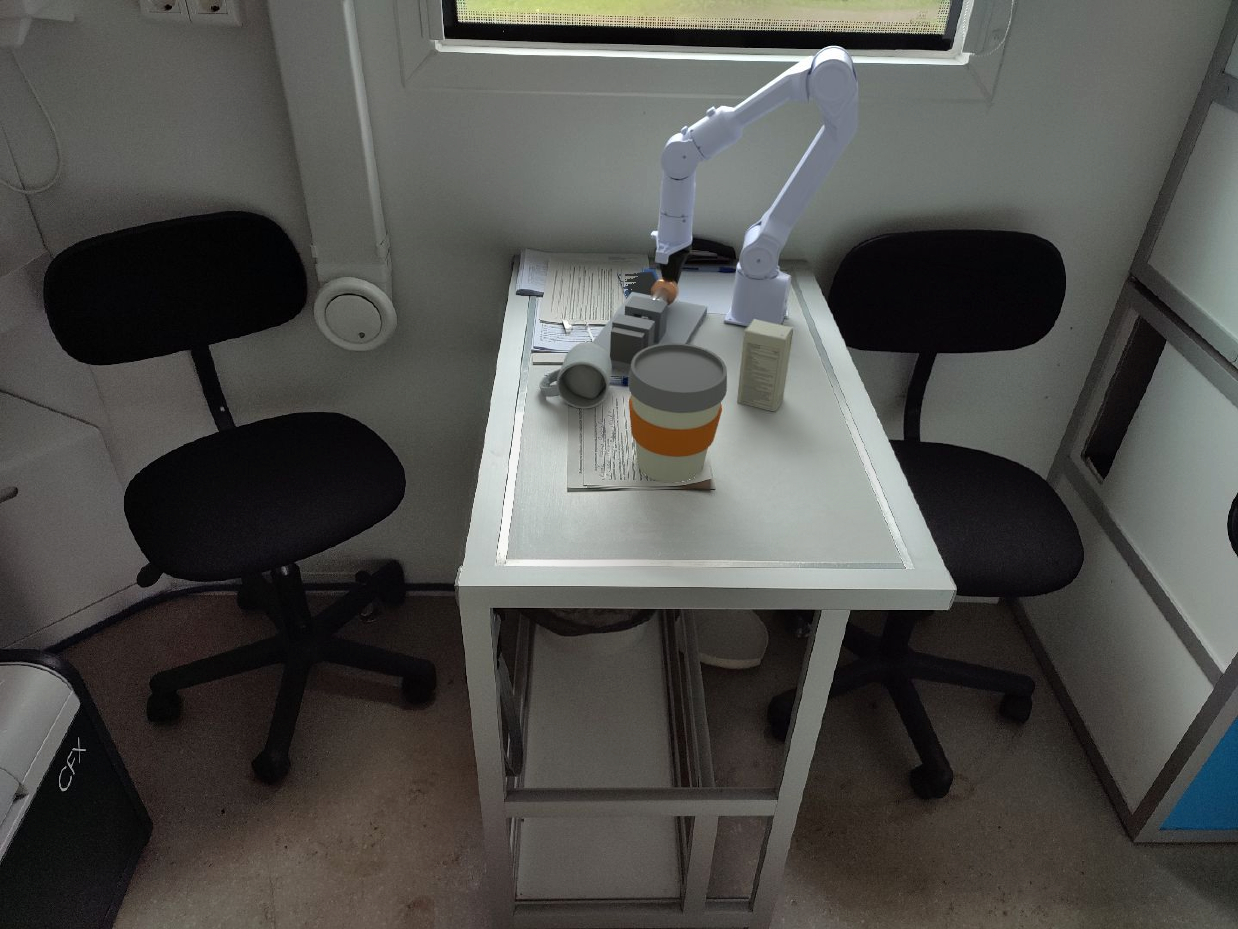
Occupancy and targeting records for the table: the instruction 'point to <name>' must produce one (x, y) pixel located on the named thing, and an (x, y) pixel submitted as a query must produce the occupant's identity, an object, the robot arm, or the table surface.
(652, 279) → the cell phone
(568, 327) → the picture light
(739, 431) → the table surface
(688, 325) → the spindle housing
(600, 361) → the ceramic mug
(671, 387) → the reusable coffee cup
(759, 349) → the skincare box
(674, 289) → the copper and silver rod
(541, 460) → the table surface
